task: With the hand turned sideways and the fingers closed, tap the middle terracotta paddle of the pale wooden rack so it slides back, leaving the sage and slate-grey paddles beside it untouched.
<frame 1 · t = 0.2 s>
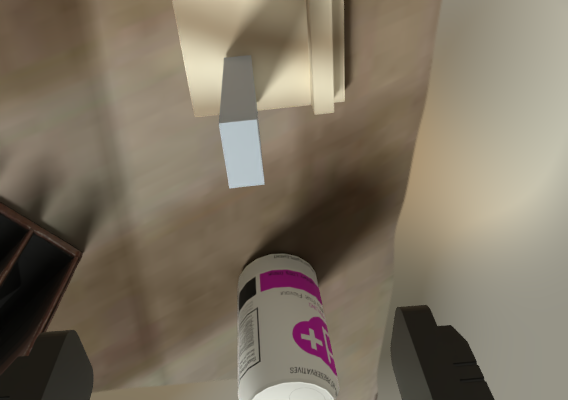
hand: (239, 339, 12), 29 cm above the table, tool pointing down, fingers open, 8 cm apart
supplement can: (277, 278, 50), on the table
slate paddle: (241, 113, 31), point 8 cm above the table, slide at 0.0 cm
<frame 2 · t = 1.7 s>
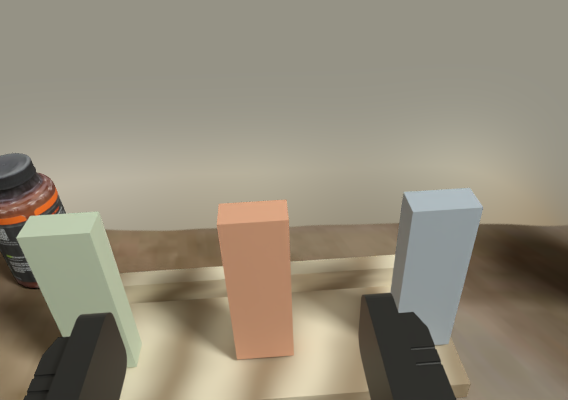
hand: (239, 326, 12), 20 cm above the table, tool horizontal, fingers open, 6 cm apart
terracotta paddle: (259, 286, 31), point 8 cm above the table, slide at 0.0 cm
sage paddle: (88, 298, 30), point 8 cm above the table, slide at 0.0 cm
paddle rack: (265, 339, 37), on the table
supplement bottle: (50, 269, 44), on the table
slate paddle: (427, 274, 31), point 8 cm above the table, slide at 0.0 cm
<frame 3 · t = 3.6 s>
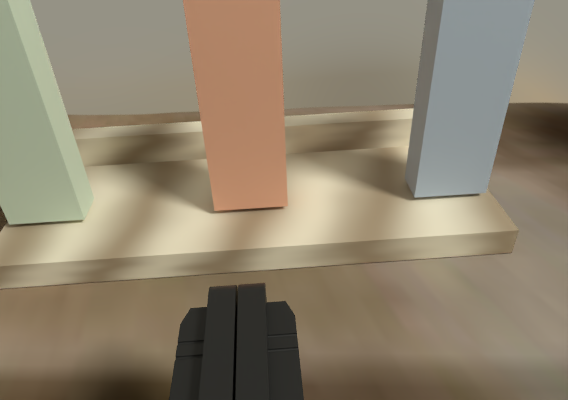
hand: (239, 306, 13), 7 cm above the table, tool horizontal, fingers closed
terracotta paddle: (241, 97, 23), point 8 cm above the table, slide at 0.0 cm
sage paddle: (13, 111, 23), point 8 cm above the table, slide at 0.0 cm
paddle rack: (253, 203, 29), on the table
slate paddle: (463, 84, 23), point 8 cm above the table, slide at 0.0 cm
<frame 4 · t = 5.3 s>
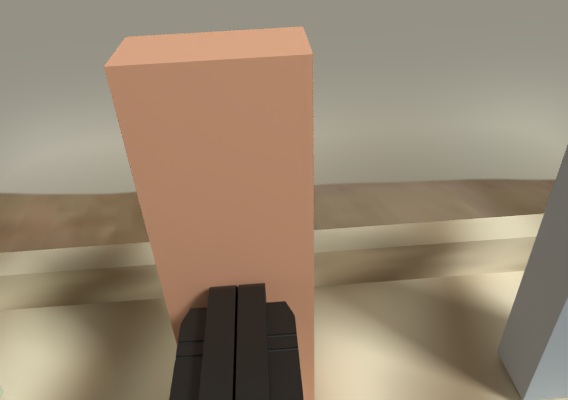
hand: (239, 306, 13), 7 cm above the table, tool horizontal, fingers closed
terracotta paddle: (239, 259, 13), point 8 cm above the table, slide at 0.4 cm, touching gripper
paddle rack: (257, 376, 19), on the table
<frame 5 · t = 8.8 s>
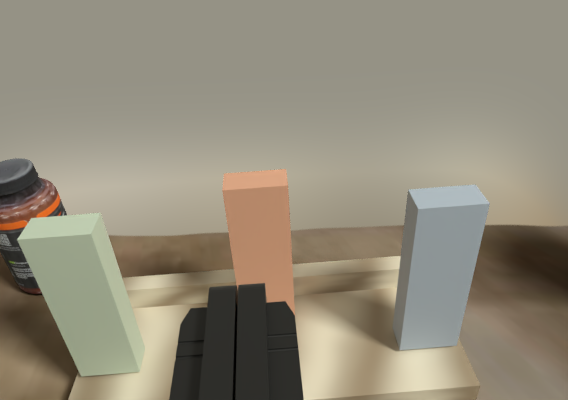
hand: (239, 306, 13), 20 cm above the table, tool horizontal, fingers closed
terracotta paddle: (262, 252, 33), point 8 cm above the table, slide at 3.4 cm
sage paddle: (90, 301, 30), point 8 cm above the table, slide at 0.0 cm
paddle rack: (270, 343, 36), on the table
supplement bottle: (53, 275, 44), on the table
slate paddle: (434, 274, 30), point 8 cm above the table, slide at 0.0 cm
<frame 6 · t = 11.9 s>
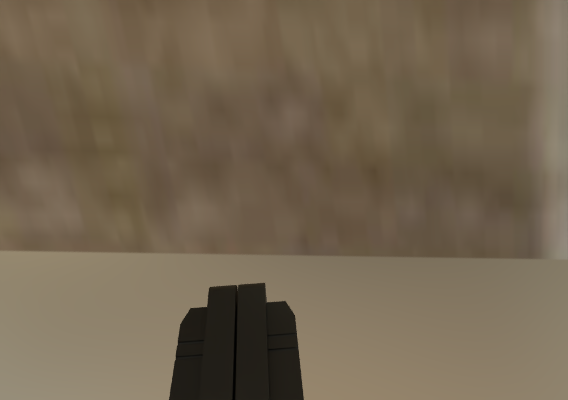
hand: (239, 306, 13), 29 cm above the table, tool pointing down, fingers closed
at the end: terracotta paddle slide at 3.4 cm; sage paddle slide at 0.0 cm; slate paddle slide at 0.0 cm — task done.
